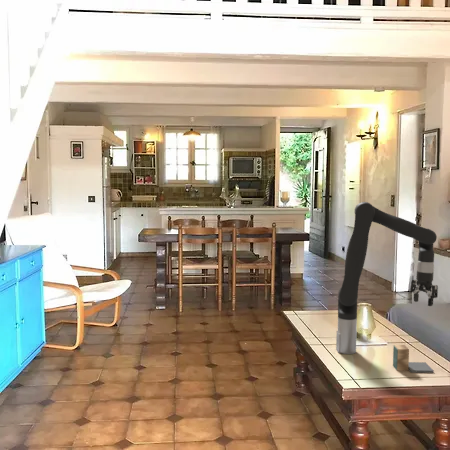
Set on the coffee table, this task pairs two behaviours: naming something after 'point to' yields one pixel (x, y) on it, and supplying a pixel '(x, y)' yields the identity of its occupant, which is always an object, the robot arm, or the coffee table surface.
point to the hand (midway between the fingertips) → (422, 303)
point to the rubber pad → (420, 367)
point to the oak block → (400, 357)
